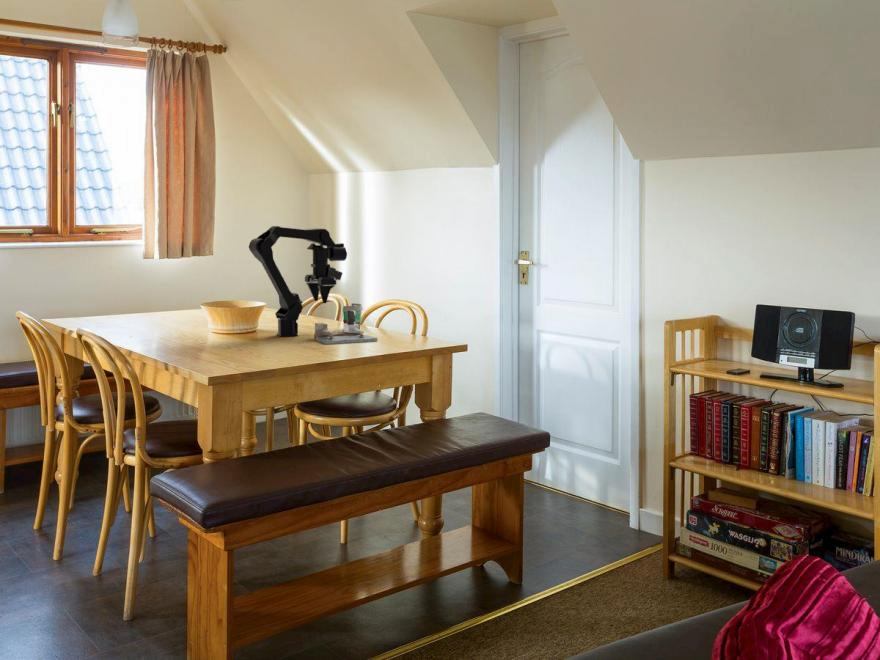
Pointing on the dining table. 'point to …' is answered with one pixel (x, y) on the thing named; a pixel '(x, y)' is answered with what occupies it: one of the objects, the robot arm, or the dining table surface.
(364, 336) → the hole plate
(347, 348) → the dining table surface
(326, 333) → the divider rail
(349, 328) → the divider leg
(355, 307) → the food container
